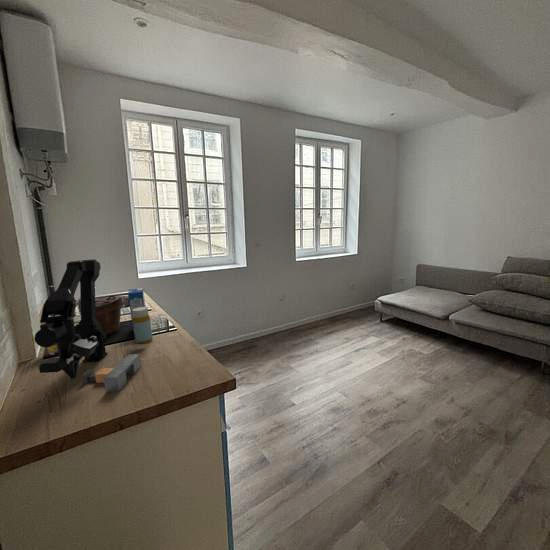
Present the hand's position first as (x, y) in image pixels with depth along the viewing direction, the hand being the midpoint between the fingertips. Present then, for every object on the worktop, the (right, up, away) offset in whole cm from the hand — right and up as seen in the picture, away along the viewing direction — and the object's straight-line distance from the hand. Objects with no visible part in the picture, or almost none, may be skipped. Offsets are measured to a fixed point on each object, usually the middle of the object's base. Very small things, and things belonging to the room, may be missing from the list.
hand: (73, 378), depth 96 cm
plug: (+9, -1, 0) cm, 9 cm away
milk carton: (+1, +7, +46) cm, 47 cm away
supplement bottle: (-23, +2, +24) cm, 34 cm away
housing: (+17, 0, 0) cm, 17 cm away
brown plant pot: (-17, +7, +47) cm, 51 cm away
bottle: (+9, +5, +32) cm, 34 cm away
